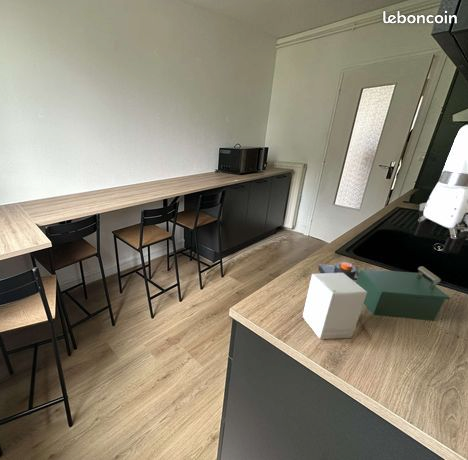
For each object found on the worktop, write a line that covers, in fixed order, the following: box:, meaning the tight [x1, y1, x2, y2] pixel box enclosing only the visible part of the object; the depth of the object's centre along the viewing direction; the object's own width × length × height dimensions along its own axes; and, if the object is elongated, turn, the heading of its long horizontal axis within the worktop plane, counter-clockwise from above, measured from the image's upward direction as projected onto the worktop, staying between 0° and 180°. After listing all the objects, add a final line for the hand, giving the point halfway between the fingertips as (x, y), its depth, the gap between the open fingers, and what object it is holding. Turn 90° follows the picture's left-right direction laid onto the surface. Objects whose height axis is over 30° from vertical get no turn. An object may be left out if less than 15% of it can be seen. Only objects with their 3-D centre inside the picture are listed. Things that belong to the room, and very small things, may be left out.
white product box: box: [302, 273, 367, 340], centre depth 67 cm, size 9×9×15 cm
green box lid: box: [359, 266, 451, 300], centre depth 71 cm, size 15×12×5 cm
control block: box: [317, 262, 358, 281], centre depth 91 cm, size 10×8×4 cm
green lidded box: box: [355, 271, 446, 322], centre depth 74 cm, size 15×12×9 cm
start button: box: [340, 261, 353, 270], centre depth 90 cm, size 3×3×2 cm
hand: (434, 243), depth 66 cm, fingers open, 9 cm apart
